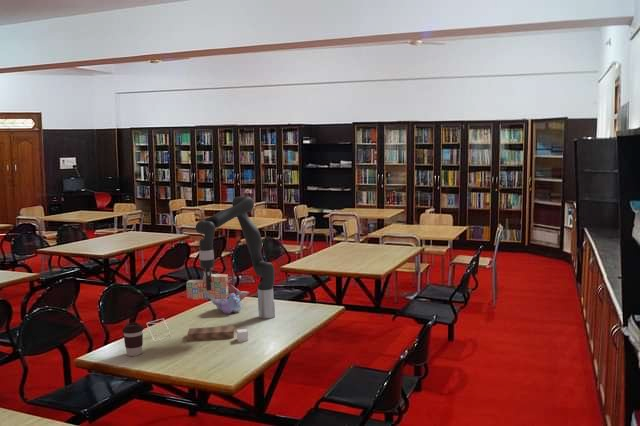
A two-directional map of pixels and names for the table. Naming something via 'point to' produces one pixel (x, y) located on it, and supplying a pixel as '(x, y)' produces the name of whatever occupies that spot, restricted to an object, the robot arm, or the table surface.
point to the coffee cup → (133, 338)
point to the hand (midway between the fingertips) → (208, 288)
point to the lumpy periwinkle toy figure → (231, 300)
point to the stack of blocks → (199, 288)
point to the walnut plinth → (210, 333)
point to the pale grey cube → (242, 335)
